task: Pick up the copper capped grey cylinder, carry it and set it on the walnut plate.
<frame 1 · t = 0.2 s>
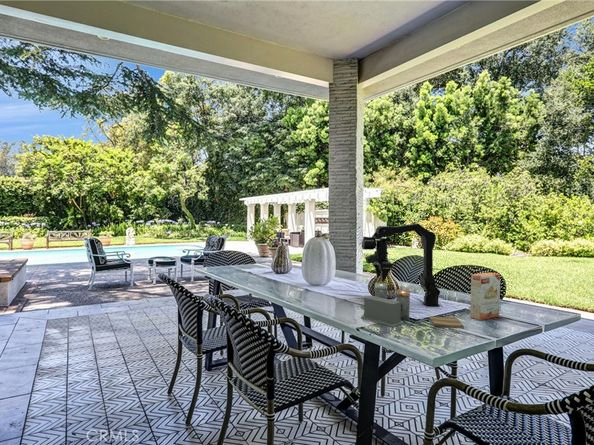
hand: (380, 279, 198), 14 cm above the table, tool pointing down, fingers open, 9 cm apart
walnut plate: (445, 323, 168), on the table
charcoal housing: (381, 320, 172), on the table
cracker box: (484, 317, 177), on the table
copper capped grey cylinder: (402, 318, 176), on the table
steel cartridge: (381, 308, 193), on the table
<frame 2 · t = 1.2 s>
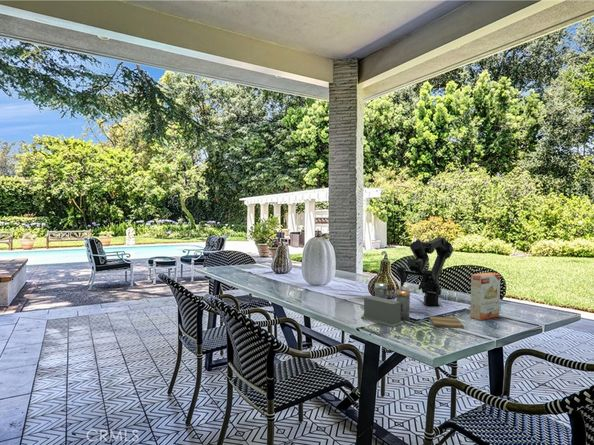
hand: (410, 287, 182), 13 cm above the table, tool tilted 45°, fingers open, 9 cm apart
nothing on the table moved.
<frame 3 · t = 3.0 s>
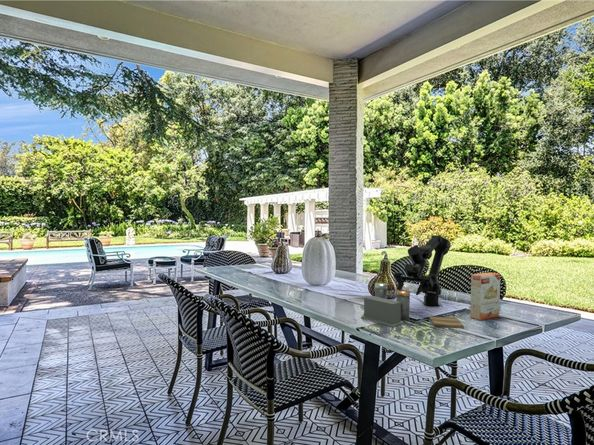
hand: (407, 293, 179), 11 cm above the table, tool tilted 45°, fingers open, 9 cm apart
nothing on the table moved.
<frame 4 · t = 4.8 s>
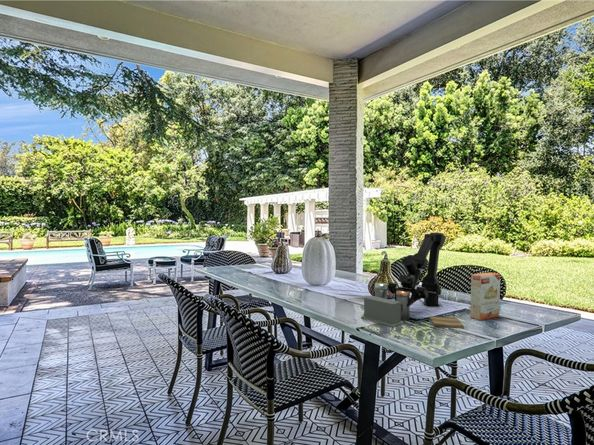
hand: (401, 305, 175), 7 cm above the table, tool tilted 45°, fingers closed on copper capped grey cylinder, 6 cm apart
copper capped grey cylinder: (402, 318, 176), on the table, touching gripper
everything else where it was.
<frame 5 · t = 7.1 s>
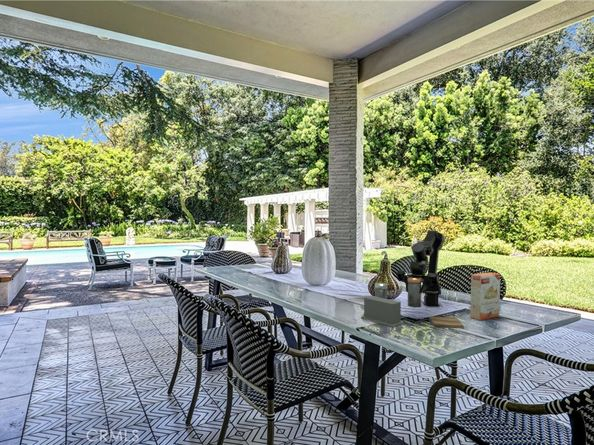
hand: (413, 292, 171), 13 cm above the table, tool tilted 45°, fingers closed on copper capped grey cylinder, 6 cm apart
copper capped grey cylinder: (414, 305, 172), point 7 cm above the table, touching gripper
everything else where it was.
when the fingers open (9 cm above the table, at t = 9.5 s): copper capped grey cylinder drops 1 cm, resting on walnut plate.
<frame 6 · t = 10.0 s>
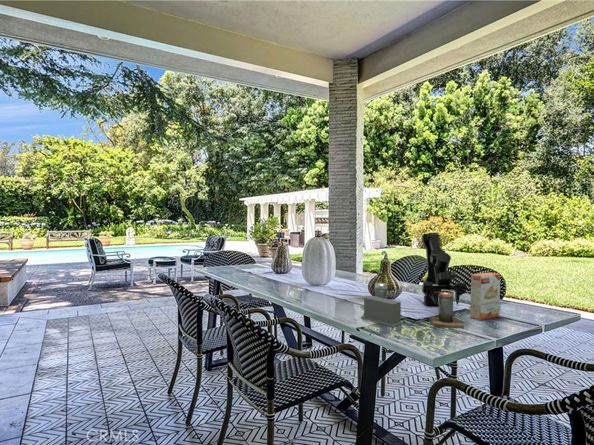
hand: (446, 303, 166), 9 cm above the table, tool tilted 45°, fingers open, 9 cm apart
copper capped grey cylinder: (445, 320, 168), point 1 cm above the table, touching walnut plate
everything else where it was.
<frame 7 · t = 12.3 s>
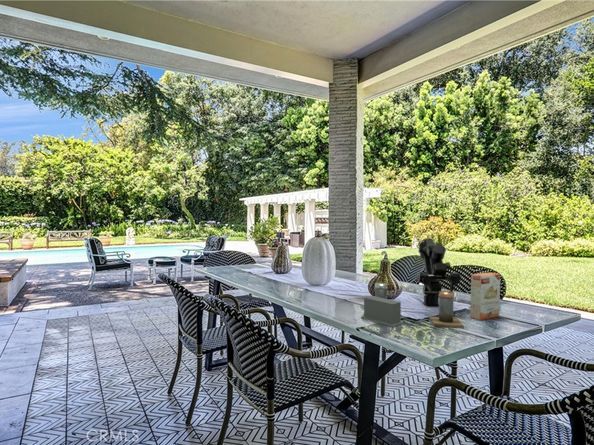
hand: (441, 292, 176), 12 cm above the table, tool tilted 45°, fingers open, 9 cm apart
nothing on the table moved.
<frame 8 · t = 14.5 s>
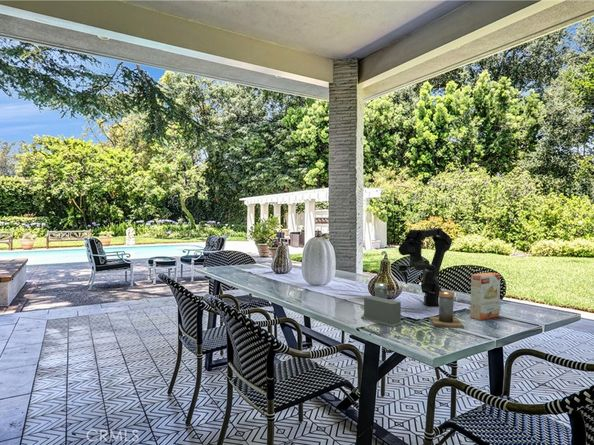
hand: (415, 284, 192), 13 cm above the table, tool pointing down, fingers open, 9 cm apart
nothing on the table moved.
at the end: copper capped grey cylinder 0.0 cm off-centre on the walnut plate, point 1.2 cm above the walnut plate's base; copper capped grey cylinder tilted 1°; steel cartridge moved 0.0 cm from its start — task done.
